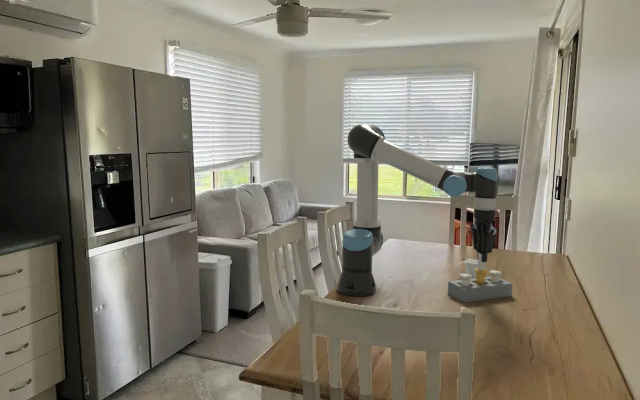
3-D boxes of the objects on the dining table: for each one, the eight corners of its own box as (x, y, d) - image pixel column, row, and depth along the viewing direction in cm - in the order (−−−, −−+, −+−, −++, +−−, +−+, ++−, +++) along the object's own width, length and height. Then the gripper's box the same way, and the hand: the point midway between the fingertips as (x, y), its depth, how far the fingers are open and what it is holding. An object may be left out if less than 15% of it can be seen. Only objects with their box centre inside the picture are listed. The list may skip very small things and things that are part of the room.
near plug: (463, 294, 174) (464, 277, 173) (456, 290, 178) (457, 274, 178) (473, 293, 176) (474, 276, 175) (465, 289, 180) (466, 273, 179)
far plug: (493, 290, 179) (494, 274, 178) (486, 287, 183) (487, 270, 182) (502, 289, 181) (504, 273, 180) (495, 286, 185) (496, 269, 184)
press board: (464, 302, 171) (464, 289, 171) (447, 293, 181) (448, 281, 180) (511, 295, 179) (512, 283, 178) (493, 287, 188) (494, 275, 188)
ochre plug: (479, 288, 177) (480, 272, 176) (471, 285, 181) (472, 268, 180) (488, 287, 178) (489, 271, 177) (480, 284, 182) (481, 268, 181)
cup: (480, 283, 195) (481, 264, 193) (455, 279, 198) (456, 261, 197) (481, 278, 201) (482, 260, 200) (457, 275, 205) (458, 257, 204)
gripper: (505, 210, 170) (501, 273, 174) (481, 205, 183) (478, 264, 186) (488, 211, 168) (485, 275, 171) (465, 206, 180) (462, 265, 183)
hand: (481, 269), depth 178 cm, fingers closed
